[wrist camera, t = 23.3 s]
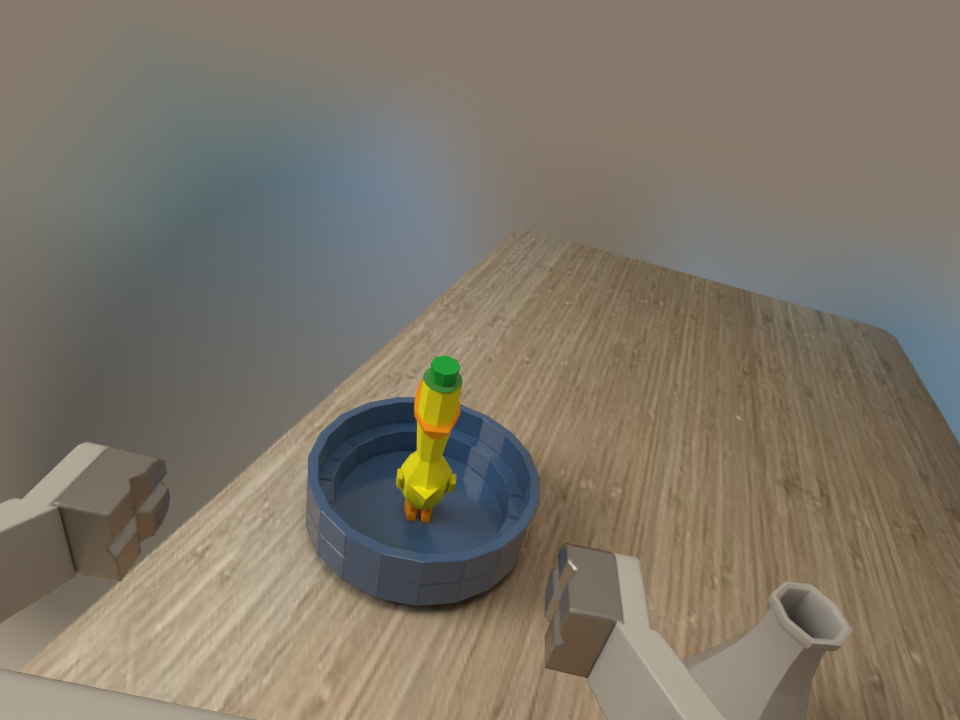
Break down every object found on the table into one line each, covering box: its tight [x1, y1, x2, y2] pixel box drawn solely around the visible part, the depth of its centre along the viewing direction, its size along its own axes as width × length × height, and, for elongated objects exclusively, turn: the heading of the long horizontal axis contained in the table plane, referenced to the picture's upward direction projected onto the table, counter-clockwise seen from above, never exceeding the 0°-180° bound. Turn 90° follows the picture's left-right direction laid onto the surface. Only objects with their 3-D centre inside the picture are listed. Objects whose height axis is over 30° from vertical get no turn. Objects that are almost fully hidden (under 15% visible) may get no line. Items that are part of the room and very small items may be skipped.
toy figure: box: [396, 356, 462, 523], centre depth 36 cm, size 7×4×12 cm, turn 3°
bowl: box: [306, 397, 539, 606], centre depth 38 cm, size 14×14×4 cm
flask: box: [682, 581, 853, 720], centre depth 29 cm, size 7×7×10 cm
